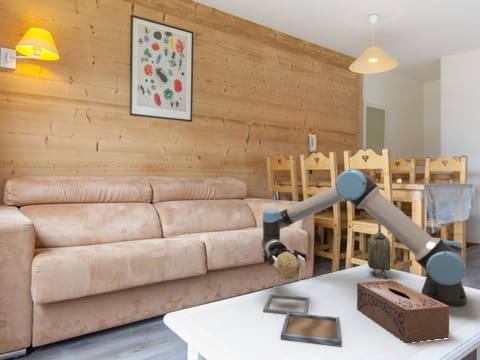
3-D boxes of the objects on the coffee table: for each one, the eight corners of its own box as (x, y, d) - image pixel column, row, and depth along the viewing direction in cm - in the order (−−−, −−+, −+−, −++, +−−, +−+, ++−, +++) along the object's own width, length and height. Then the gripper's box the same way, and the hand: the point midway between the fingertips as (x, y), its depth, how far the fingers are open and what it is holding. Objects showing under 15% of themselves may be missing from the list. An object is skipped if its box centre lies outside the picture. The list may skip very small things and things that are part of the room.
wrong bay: (309, 300, 133) (309, 297, 133) (306, 316, 118) (306, 313, 118) (270, 296, 137) (270, 294, 137) (263, 312, 122) (263, 309, 122)
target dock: (339, 321, 114) (339, 317, 114) (341, 346, 97) (341, 341, 97) (287, 316, 118) (287, 312, 118) (280, 339, 102) (280, 334, 101)
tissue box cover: (356, 310, 124) (357, 282, 124) (392, 307, 127) (392, 280, 127) (406, 345, 99) (406, 310, 99) (448, 340, 102) (449, 306, 102)
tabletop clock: (390, 280, 159) (391, 225, 158) (369, 278, 161) (369, 225, 161) (386, 272, 172) (387, 221, 172) (367, 270, 175) (367, 221, 175)
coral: (301, 256, 133) (300, 250, 124) (298, 283, 129) (297, 279, 120) (277, 252, 135) (274, 247, 126) (273, 279, 131) (270, 275, 122)
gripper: (301, 258, 146) (320, 273, 124) (250, 259, 144) (260, 275, 121) (301, 240, 146) (320, 252, 124) (250, 241, 144) (260, 253, 121)
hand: (290, 263), depth 123 cm, fingers closed on coral, 9 cm apart
